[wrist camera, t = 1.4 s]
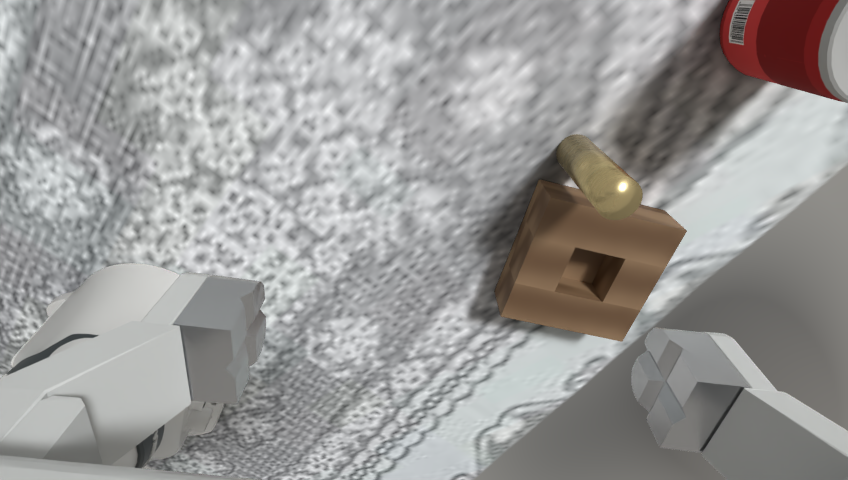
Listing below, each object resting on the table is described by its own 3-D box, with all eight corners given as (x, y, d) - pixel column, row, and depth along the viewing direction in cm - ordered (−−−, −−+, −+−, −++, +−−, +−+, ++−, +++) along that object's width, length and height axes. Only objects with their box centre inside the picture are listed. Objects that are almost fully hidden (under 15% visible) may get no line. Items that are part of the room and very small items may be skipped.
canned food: (743, 96, 38) (855, 134, 28) (695, 14, 35) (803, 26, 25) (840, 25, 35) (999, 40, 26) (798, -69, 33) (959, -92, 23)
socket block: (607, 315, 48) (622, 341, 44) (494, 291, 46) (500, 316, 43) (664, 210, 42) (686, 230, 39) (539, 179, 41) (550, 197, 37)
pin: (583, 172, 41) (629, 224, 32) (550, 164, 40) (588, 214, 31) (598, 139, 39) (650, 183, 30) (564, 130, 39) (607, 173, 30)
